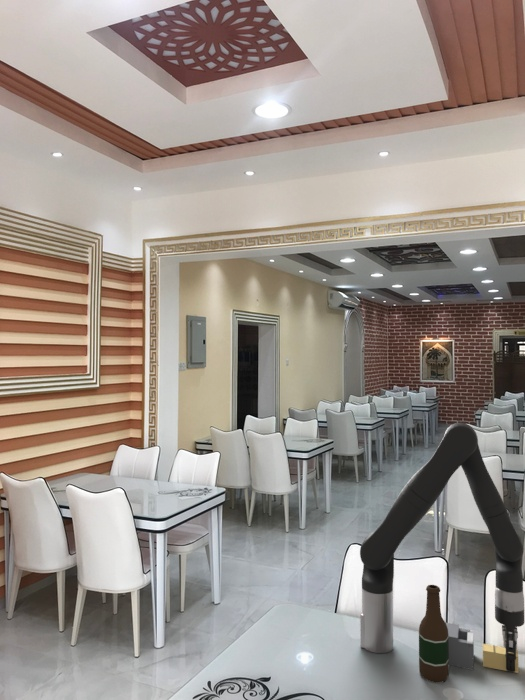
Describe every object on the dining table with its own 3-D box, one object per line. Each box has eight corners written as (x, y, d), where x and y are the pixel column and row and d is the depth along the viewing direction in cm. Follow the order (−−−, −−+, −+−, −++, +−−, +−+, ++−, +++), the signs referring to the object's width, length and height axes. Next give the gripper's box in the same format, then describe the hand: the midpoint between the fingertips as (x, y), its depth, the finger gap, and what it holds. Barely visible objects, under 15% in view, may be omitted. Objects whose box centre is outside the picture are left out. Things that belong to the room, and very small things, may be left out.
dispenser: (428, 661, 156) (428, 632, 157) (430, 646, 164) (430, 620, 164) (473, 669, 152) (473, 640, 152) (473, 654, 160) (473, 627, 160)
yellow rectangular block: (483, 666, 153) (482, 650, 153) (483, 659, 157) (482, 643, 157) (518, 673, 150) (518, 656, 150) (517, 665, 154) (517, 649, 154)
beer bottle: (450, 685, 145) (449, 593, 145) (420, 681, 146) (419, 591, 147) (447, 669, 152) (446, 582, 153) (418, 665, 154) (417, 579, 155)
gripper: (494, 592, 161) (494, 651, 160) (495, 612, 148) (496, 677, 147) (522, 596, 158) (523, 656, 158) (526, 617, 145) (527, 683, 144)
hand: (510, 666), depth 152 cm, fingers closed on yellow rectangular block, 4 cm apart
